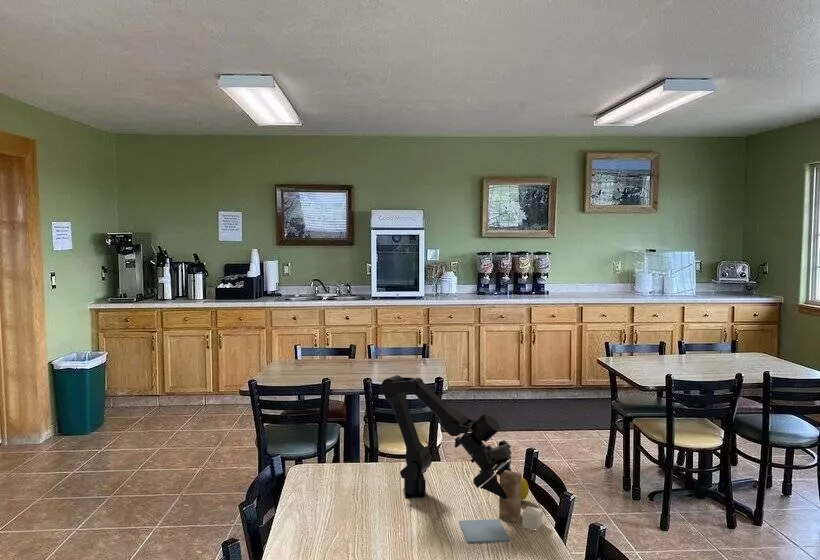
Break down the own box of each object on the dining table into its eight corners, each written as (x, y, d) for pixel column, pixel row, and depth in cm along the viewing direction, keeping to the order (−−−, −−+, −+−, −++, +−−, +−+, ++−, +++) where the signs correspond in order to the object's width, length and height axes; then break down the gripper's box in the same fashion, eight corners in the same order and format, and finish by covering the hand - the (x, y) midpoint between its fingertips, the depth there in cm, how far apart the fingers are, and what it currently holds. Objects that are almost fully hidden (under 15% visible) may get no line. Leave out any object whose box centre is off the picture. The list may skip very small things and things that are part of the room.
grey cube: (522, 527, 167) (522, 512, 166) (527, 520, 171) (527, 506, 170) (537, 531, 165) (537, 515, 164) (542, 524, 168) (542, 509, 168)
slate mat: (467, 543, 157) (467, 541, 157) (458, 522, 169) (458, 520, 169) (509, 541, 159) (509, 539, 159) (498, 520, 171) (498, 518, 171)
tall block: (499, 518, 172) (499, 475, 171) (504, 511, 176) (505, 470, 176) (515, 522, 170) (515, 479, 169) (520, 515, 174) (521, 473, 173)
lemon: (528, 505, 180) (528, 480, 180) (510, 504, 181) (510, 479, 181) (528, 498, 186) (528, 474, 185) (511, 496, 187) (511, 472, 186)
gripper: (483, 443, 166) (520, 489, 161) (505, 426, 182) (539, 466, 177) (458, 465, 170) (493, 510, 165) (482, 446, 186) (514, 486, 182)
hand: (511, 492), depth 172 cm, fingers open, 9 cm apart
